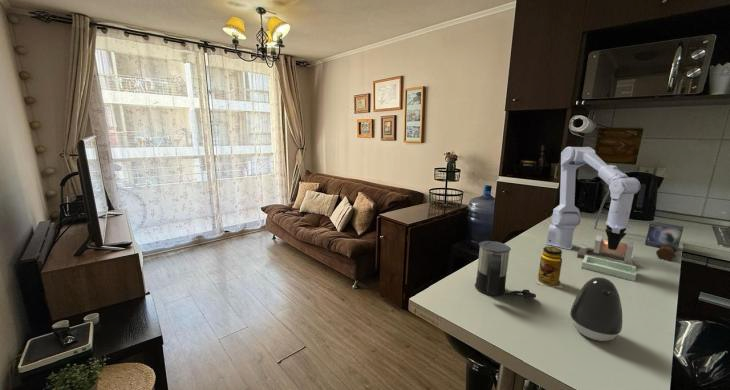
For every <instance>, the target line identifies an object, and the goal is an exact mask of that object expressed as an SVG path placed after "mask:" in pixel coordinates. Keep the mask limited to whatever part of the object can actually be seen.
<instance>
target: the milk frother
mask: <svg viewBox="0 0 730 390" xmlns="http://www.w3.org/2000/svg"><path fill="white" fill-rule="evenodd" d="M478 245H479V253H478V261H477V262H478V263H477V272H476V278H475V284H474V288H475V289H476V290H478V292H480V293H483V294H485V295H487V296H495V297H497V296H498V297H499V296H503V295H505V296H511V297H516V298H521V299H535V298H536V297H537V294H536V293H534V292H530V289H522V290H511V291H509V292H507V291H506V282H507V274H508V273H507V272H508V265H509V258H510V251H511V250H512V248H511V247H510V246H509V245H508V244H507V243H506V244H505V243H502V242H499V241H492V240H484V241H480V242H479V243H478Z"/></svg>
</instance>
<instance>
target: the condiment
mask: <svg viewBox="0 0 730 390" xmlns="http://www.w3.org/2000/svg"><path fill="white" fill-rule="evenodd" d="M562 253H563V250H562V249H560V248H559V247H556V246H550V245H548V246H544V247H543V251H542V254H541V255H540V262H539V268H538V273H535V272H534V273H533V274H534V277H535V280H536V283H537V285H541V286H545V287H551V288H559V289H564V286H563V285H562V283H561V281H560V276H561V270H562V263H563V258H562Z"/></svg>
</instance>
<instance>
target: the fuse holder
mask: <svg viewBox="0 0 730 390" xmlns="http://www.w3.org/2000/svg"><path fill="white" fill-rule="evenodd" d="M585 255H587V256H592V257H596V258H601V259H605V260H609V261H614V262H618V263H622V264H627V265H631V266H634V255H633V254H632V256H631V260H627V259H625V256H624V255H619V254H614V253H609V252H604V251H599V253H594V248H590V247H588V245H587V244H584V243H583V244H581V245H580V247H579V250H578V252H577V256H576V257H577V258H579V259H582V260H584V257H585Z"/></svg>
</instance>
